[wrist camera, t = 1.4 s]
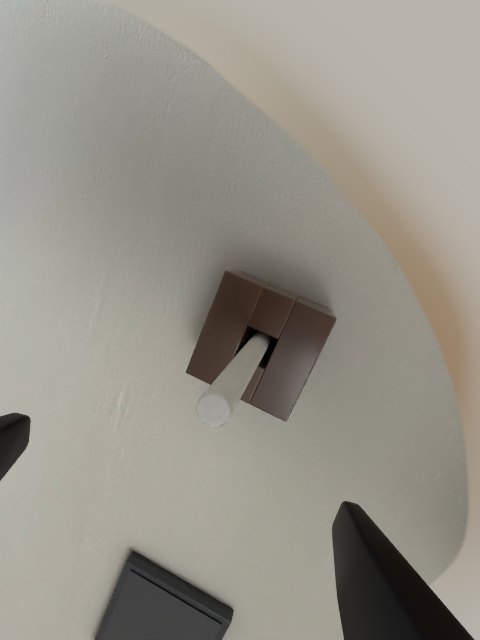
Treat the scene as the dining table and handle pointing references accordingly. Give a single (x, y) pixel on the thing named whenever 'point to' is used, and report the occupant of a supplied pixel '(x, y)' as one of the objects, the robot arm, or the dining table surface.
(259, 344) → the stylus
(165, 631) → the tablet
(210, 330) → the pen stand
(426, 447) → the dining table surface
